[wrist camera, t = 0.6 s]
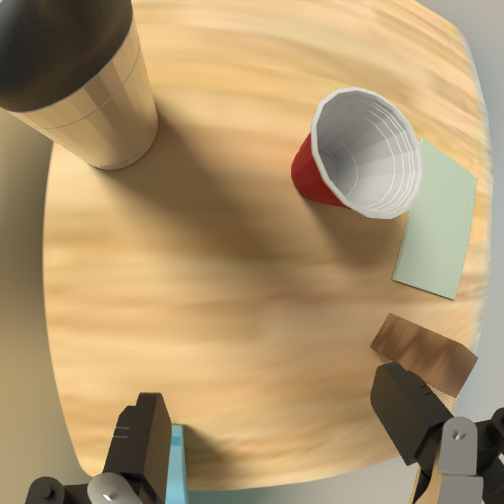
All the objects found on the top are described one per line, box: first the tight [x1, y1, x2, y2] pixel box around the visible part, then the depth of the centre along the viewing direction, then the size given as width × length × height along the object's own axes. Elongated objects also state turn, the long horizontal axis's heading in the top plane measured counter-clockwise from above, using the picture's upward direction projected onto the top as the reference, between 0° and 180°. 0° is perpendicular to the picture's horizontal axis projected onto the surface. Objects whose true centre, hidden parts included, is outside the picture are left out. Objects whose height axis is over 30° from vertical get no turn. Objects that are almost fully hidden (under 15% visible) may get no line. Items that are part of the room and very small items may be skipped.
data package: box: [165, 424, 189, 504], centre depth 25 cm, size 12×4×12 cm, turn 176°
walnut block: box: [370, 313, 478, 398], centre depth 29 cm, size 5×5×13 cm
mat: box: [392, 138, 477, 300], centre depth 36 cm, size 20×14×1 cm
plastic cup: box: [291, 87, 424, 219], centre depth 25 cm, size 11×11×12 cm
